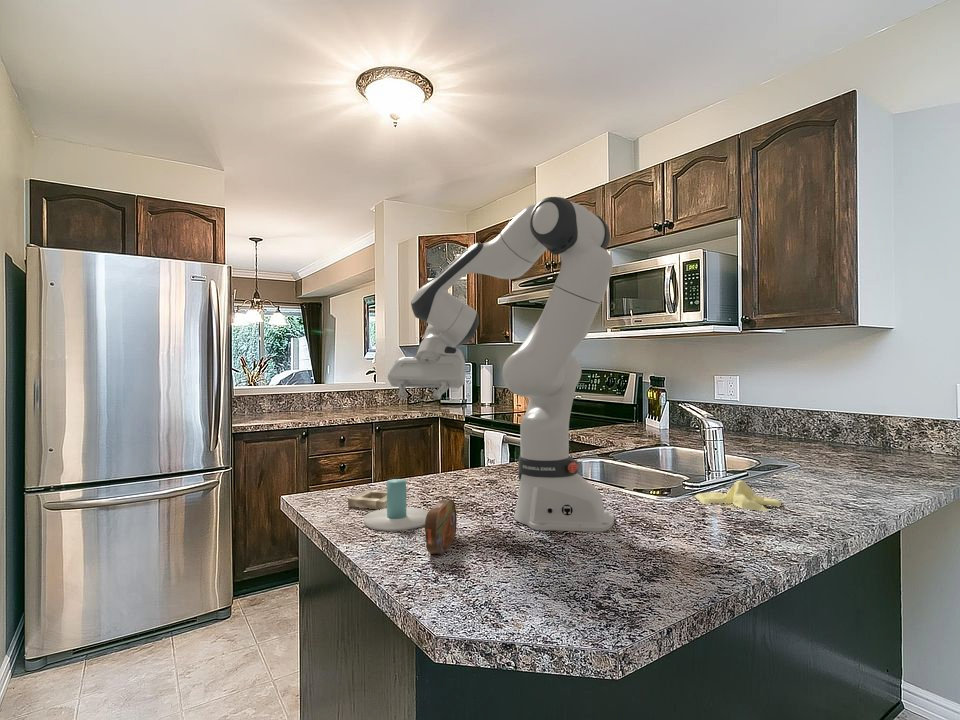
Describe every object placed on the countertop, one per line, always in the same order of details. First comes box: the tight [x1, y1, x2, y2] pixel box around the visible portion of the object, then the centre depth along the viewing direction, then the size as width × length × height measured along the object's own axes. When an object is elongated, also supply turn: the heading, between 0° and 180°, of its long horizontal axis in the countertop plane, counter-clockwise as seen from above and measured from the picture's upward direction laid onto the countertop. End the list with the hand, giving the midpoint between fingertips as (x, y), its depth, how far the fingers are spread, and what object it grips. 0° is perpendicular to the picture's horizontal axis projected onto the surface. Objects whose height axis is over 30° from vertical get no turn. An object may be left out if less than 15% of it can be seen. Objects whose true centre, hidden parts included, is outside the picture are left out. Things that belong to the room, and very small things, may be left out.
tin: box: [424, 498, 458, 555], centre depth 109 cm, size 15×3×8 cm, turn 168°
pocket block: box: [347, 489, 387, 510], centre depth 141 cm, size 10×10×2 cm
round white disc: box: [363, 506, 429, 532], centre depth 126 cm, size 15×15×1 cm
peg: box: [386, 478, 407, 519], centre depth 126 cm, size 4×4×8 cm
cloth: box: [694, 480, 782, 511], centre depth 138 cm, size 22×19×6 cm
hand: (418, 397), depth 138 cm, fingers open, 8 cm apart
